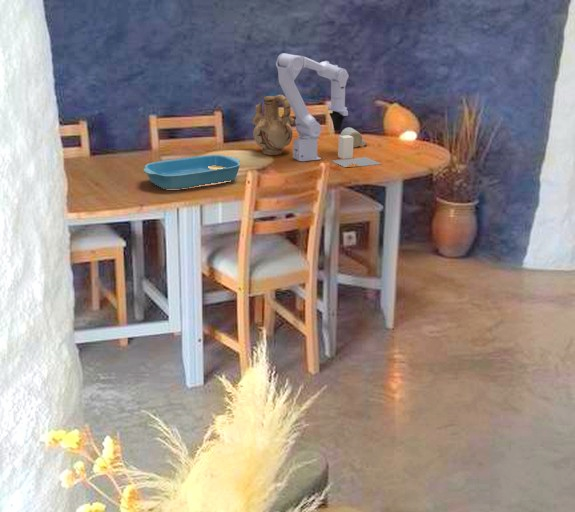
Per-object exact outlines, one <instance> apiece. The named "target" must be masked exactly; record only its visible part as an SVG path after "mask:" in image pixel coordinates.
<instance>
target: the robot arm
mask: <svg viewBox="0 0 575 512" xmlns="http://www.w3.org/2000/svg"><path fill="white" fill-rule="evenodd" d="M275 66H276V69H277V73H278V74H277V75H278V83H279V85H280V88H281V90H282V91H283V93H284V95H285V97H286V98H287V100H288V102H289V104H290V108H291V110H292V112H293V114H294V116H295V119H294V123H295V129H296V132H297V133H298V136H299V137H296V138H294V139H293V145H292V149H293V150H292V158H293V159H295V160H297V161H298V162H307V161H308V162H309V161H310V162H311V161H318V160H322V158H321V157H319V156H318V139H319V136H320V135H321V133H322V126H321V124H320V123H319V122H318V121H317V120H316V118H315V117H314V116H313V115H312V114H311V113H310V112H309V110H308V108H307V105H306V103H305V102H304V99H303V97H302V95H301V93H300V92H299V89H298V87H297V85H296V83H295V80H296V79H297V77H298V76H299V74H300V72H301V70H302V69H305V68H308V69H311V70H313V71H316V74H317V75H318V76H320V77H323V78H324V79H328V80H329V81H330V83H331V85H330V89H331V90H330V91H331V92H330V105H329V104H328V105H327V111H332V112H330V113H329V116H330V119H331V121H332V125H333V129H334V131H341V128H342V124H343V122H344V119H345V118H346V116H347V117H348V116H349V111H348V110H347V109H348V107H346V86H347V81H348V79H349V73H348V71H347V69H345V68H342V67H339V65H337V64H331V63H330V61H328V60H324V61H321V62H317V61H316V60H313V59H312V58H309V57H307V56H303V55H299V54H290V53H287V52H283V53H280V54H279V55H278V57H277V59H276V62H275Z"/></svg>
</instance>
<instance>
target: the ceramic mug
mask: <svg viewBox="0 0 575 512" xmlns="http://www.w3.org/2000/svg"><path fill="white" fill-rule="evenodd" d="M343 135H350V136H352V137H354V140H353V149H355V148H358V147H360V146H361V145H362V146H364V147H365V146H367V142H366V141H364V140H363V136H362V134H361V133H360V132H359V131H357V130H356V129H354V127H350V126H349V127H348V126H347V127H345V128H344V129H342V131H341V132H340V135H339V136H343Z"/></svg>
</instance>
